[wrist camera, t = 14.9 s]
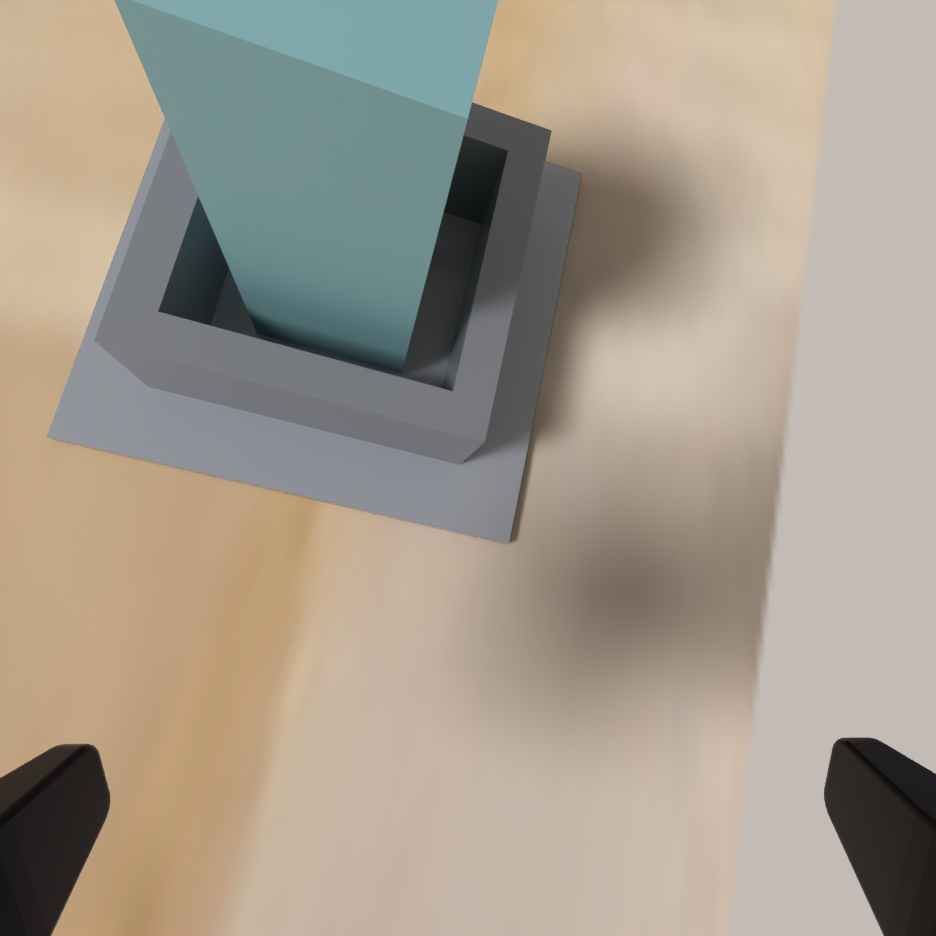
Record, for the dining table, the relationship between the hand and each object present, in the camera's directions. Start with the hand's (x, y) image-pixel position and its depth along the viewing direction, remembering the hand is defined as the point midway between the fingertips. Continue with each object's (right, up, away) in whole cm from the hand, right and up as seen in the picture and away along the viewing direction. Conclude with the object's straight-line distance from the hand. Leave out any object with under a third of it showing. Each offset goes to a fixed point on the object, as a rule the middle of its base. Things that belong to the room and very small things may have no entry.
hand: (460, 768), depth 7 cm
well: (-4, +10, +14) cm, 17 cm away
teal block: (-4, +10, +13) cm, 17 cm away
